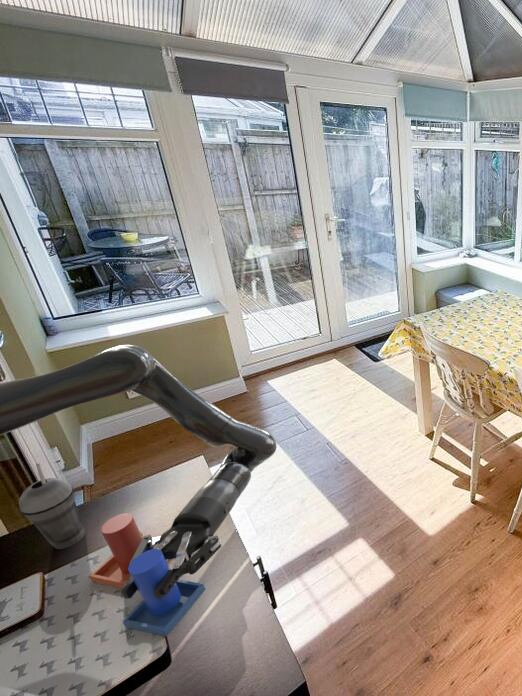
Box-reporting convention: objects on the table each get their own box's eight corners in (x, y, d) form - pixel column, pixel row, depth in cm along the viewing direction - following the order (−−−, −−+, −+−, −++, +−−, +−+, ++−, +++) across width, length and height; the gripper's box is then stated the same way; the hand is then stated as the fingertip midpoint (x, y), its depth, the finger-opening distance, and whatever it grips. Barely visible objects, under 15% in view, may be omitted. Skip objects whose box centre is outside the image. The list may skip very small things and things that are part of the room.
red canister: (115, 572, 78) (94, 531, 74) (137, 551, 82) (118, 511, 78) (135, 576, 78) (115, 535, 73) (156, 554, 82) (138, 515, 77)
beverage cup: (56, 531, 86) (14, 457, 78) (101, 520, 89) (64, 448, 81) (36, 562, 80) (-12, 485, 72) (85, 549, 83) (44, 474, 75)
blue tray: (126, 629, 70) (122, 621, 69) (168, 583, 77) (165, 576, 77) (167, 638, 69) (163, 631, 68) (206, 591, 76) (203, 583, 76)
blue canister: (145, 605, 72) (124, 563, 68) (175, 585, 76) (156, 544, 71) (155, 621, 70) (133, 579, 65) (185, 599, 73) (166, 558, 69)
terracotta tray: (92, 583, 77) (88, 576, 76) (139, 540, 85) (136, 533, 84) (134, 592, 76) (131, 585, 75) (177, 548, 84) (174, 541, 83)
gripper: (166, 494, 81) (87, 580, 66) (240, 495, 82) (178, 581, 66) (177, 521, 84) (104, 609, 69) (248, 522, 85) (191, 610, 69)
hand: (141, 595), depth 68 cm, fingers closed on blue canister, 4 cm apart
